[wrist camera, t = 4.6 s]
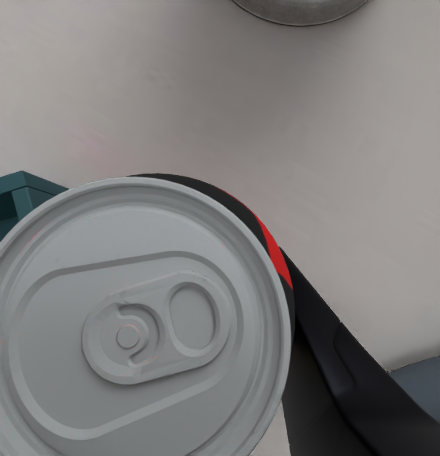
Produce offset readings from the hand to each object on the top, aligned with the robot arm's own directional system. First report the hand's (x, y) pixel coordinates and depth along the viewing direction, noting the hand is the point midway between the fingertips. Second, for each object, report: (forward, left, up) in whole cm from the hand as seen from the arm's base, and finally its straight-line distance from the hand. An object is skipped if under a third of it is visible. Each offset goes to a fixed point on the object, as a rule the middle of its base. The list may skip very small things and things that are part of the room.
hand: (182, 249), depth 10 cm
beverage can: (-1, +1, -7) cm, 7 cm away
